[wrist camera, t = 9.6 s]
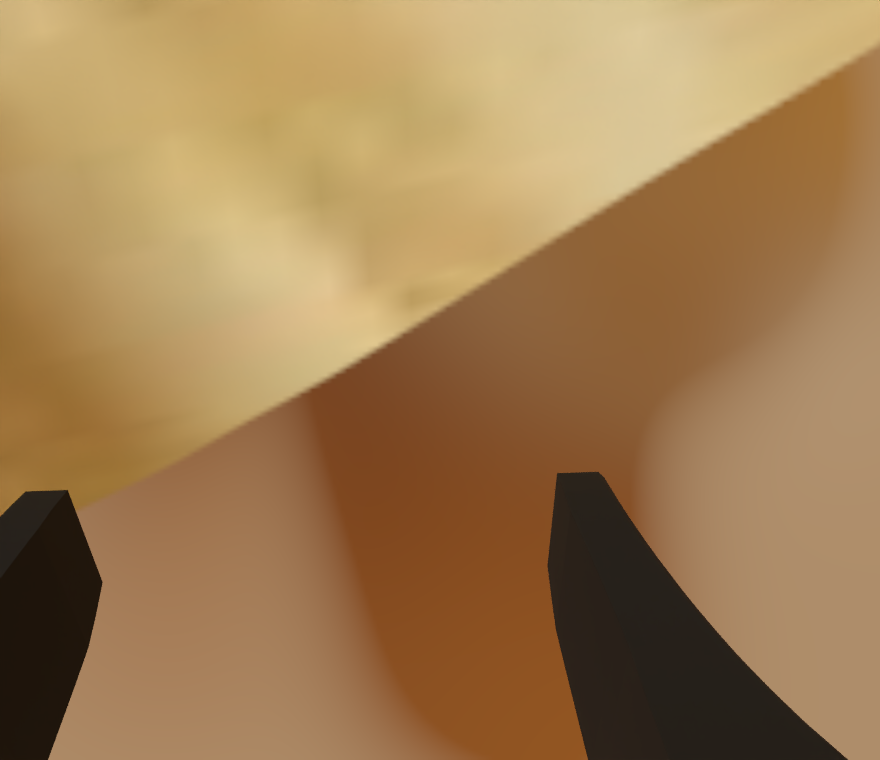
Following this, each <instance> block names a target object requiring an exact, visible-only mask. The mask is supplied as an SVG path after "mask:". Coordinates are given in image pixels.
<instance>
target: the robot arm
mask: <svg viewBox="0 0 880 760" xmlns="http://www.w3.org/2000/svg"><path fill="white" fill-rule="evenodd" d="M548 572H549V580H550V589H551V597H552V604H553V612H554V619H555V626H556V631H557V636H558V639H559V644H560V648H561V652H562V656H563V660H564V664H565V669H566V673H567V677H568V681H569V685H570V688H571V693H572V697H573V701H574V705H575V709H576V713H577V717H578V721H579V725H580V729H581V732H582V736H583V741H584V745H585V749H586V753H587V757H588V760H848V759H847V758H845V757H844V756H843V755H842V754H841V753H840V752H839V751H837V750H836V749H835V748H834V747H833V746H832V745H830V744H829V743H828V742H827V741H826V740H825V739H824V738H822V737H821V736H820V735H819V734H818V733H817V732H816V731H814V730H813V729H812V728H811V727H809V725H807V724H806V723H805V722H804V721H803V720H802V719H801V718H800V717H799V716H798V715H797V714H796V713H795V712H794V711H793V710H792V709H791V708H790V707H788V706H787V705H786V704H785V703H784V702H783V701H782V700H781V699H780V698H779V697H778V696H777V695H776V694H775V693H774V692H773V691H772V690H771V689H770V688H769V687H768V686H767V685H766V684H765V683H764V682H763V681H762V680H761V679H760V678H759V677H758V676H757V675H756V674H755V673H754V672H753V671H752V670H751V669H750V668H749V667H748V666H747V664H745V662H744V661H742V659H741V658H740V657H739V656H738V655H737V654H736V653H735V652H734V650H732V648H731V647H730V646H729V645H728V644H727V643H726V642H725V640H724V639H723V638H722V637H721V636H720V635H719V634H718V633H717V631H716V630H715V629H714V628H713V627H712V625H711V624H710V623H709V622H708V621H707V620H706V618H705V617H704V616H703V615H702V614H701V613H700V612H699V610H698V609H697V608H696V607H695V605H694V604H693V603H692V602H691V600H690V599H689V598H688V597H687V595H686V594H685V593H684V592H683V591H682V589H681V588H680V587H679V585H678V584H677V583H676V581H675V580H674V579H673V577H672V576H671V575H670V573H669V572H668V571H667V570H666V568H665V567H664V566H663V564H662V563H661V562H660V560H659V559H658V558H657V556H656V555H655V554H654V552H653V551H652V549H651V548H650V547H649V545H648V544H647V543H646V541H645V540H644V538H643V537H642V535H641V534H640V532H639V531H638V530H637V528H636V527H635V525H634V524H633V522H632V521H631V519H630V518H629V517H628V515H627V513H626V512H625V510H624V509H623V507H622V506H621V504H620V503H619V501H618V499H617V498H616V496H615V494H614V493H613V491H612V490H611V488H610V487H609V485H608V483H607V481H606V480H605V478H604V477H603V476H602V475H601V474H600V473H599V472H583V473H582V472H581V473H558V474H557V480H556V490H555V500H554V509H553V518H552V528H551V538H550V547H549V558H548ZM101 587H102V580H101V577H100V574H99V572H98V569H97V567H96V564H95V561H94V559H93V556H92V553H91V551H90V548H89V546H88V543H87V540H86V537H85V535H84V532H83V530H82V527H81V525H80V522H79V519H78V516H77V514H76V511H75V508H74V506H73V503H72V501H71V498H70V495H69V493H68V490H59V491H30V492H25V493H24V494H23V495H22V496H21V497H20V498H19V499H18V500H17V501H15V502H14V503H13V504H12V505H11V506H10V507H9V508H8V509H7V510H6V511H5V513H4V514H3V515H2V516H1V517H0V760H48V758H49V755H50V753H51V750H52V747H53V744H54V742H55V739H56V736H57V733H58V731H59V728H60V725H61V723H62V720H63V717H64V714H65V712H66V708H67V706H68V703H69V701H70V698H71V695H72V692H73V689H74V687H75V684H76V681H77V678H78V675H79V672H80V670H81V667H82V664H83V661H84V658H85V656H86V653H87V649H88V646H89V642H90V638H91V634H92V630H93V625H94V621H95V617H96V612H97V607H98V602H99V597H100V592H101Z"/></svg>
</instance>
